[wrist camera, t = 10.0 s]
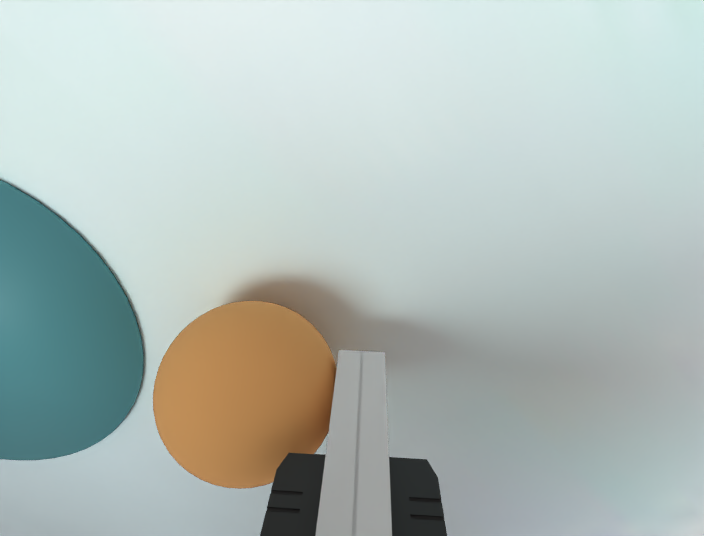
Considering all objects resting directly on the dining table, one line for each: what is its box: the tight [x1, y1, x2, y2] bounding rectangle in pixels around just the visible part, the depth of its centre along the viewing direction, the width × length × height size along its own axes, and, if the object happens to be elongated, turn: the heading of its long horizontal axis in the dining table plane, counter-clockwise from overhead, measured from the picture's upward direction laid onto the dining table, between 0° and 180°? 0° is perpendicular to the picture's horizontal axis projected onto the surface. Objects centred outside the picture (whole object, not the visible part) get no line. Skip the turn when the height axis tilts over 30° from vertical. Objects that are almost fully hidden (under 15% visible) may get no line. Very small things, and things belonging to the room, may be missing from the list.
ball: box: [153, 301, 337, 488], centre depth 13 cm, size 6×6×6 cm
